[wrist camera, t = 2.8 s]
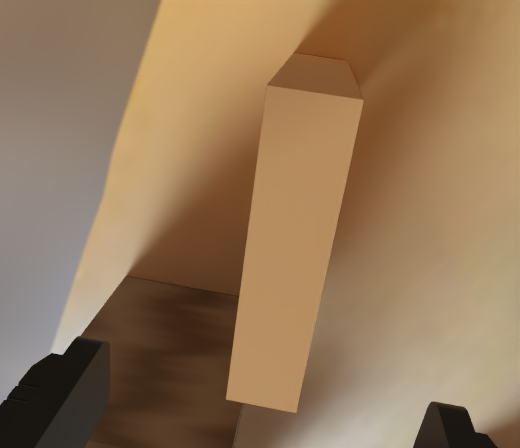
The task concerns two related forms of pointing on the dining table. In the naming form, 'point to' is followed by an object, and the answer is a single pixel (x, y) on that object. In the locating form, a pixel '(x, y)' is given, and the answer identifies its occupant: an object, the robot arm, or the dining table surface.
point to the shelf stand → (167, 367)
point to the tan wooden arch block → (292, 225)
